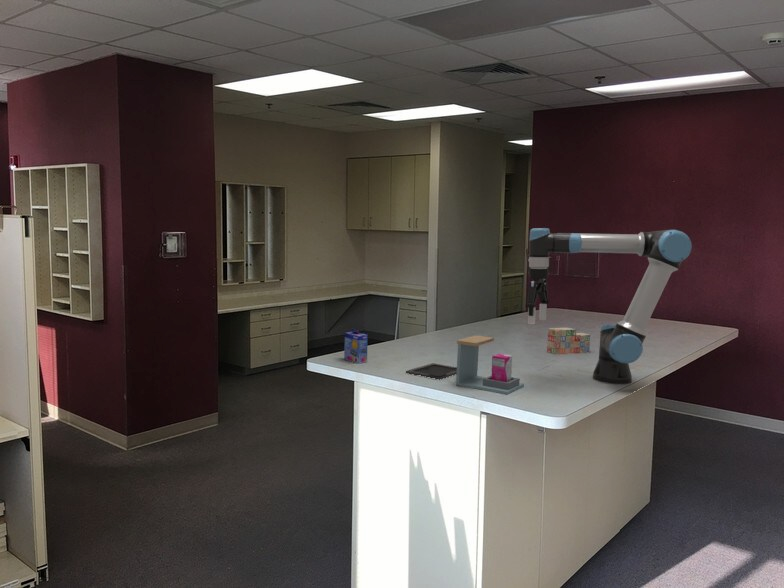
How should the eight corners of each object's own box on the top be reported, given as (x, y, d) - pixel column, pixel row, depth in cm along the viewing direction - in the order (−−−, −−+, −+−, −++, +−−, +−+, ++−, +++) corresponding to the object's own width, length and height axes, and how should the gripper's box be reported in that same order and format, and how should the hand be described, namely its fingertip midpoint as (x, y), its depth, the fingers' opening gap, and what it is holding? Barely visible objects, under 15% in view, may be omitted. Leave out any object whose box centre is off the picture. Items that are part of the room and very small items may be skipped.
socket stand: (523, 386, 254) (526, 342, 252) (507, 394, 241) (510, 348, 239) (473, 377, 265) (475, 335, 264) (454, 384, 252) (457, 340, 250)
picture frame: (439, 381, 259) (465, 372, 277) (439, 376, 259) (465, 367, 276) (405, 374, 268) (432, 366, 286) (405, 369, 268) (432, 362, 285)
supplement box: (497, 382, 254) (499, 353, 253) (511, 385, 251) (513, 355, 250) (490, 385, 250) (492, 355, 249) (504, 387, 246) (506, 357, 245)
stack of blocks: (581, 350, 337) (582, 326, 335) (589, 353, 331) (591, 328, 330) (546, 352, 328) (548, 327, 327) (554, 354, 322) (556, 329, 321)
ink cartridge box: (343, 359, 290) (344, 327, 288) (352, 358, 294) (353, 326, 292) (358, 363, 283) (359, 330, 281) (367, 362, 287) (368, 329, 285)
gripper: (539, 266, 269) (538, 317, 271) (518, 269, 248) (516, 325, 250) (557, 266, 265) (556, 319, 267) (537, 270, 244) (536, 326, 246)
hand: (537, 322), depth 259 cm, fingers open, 13 cm apart
